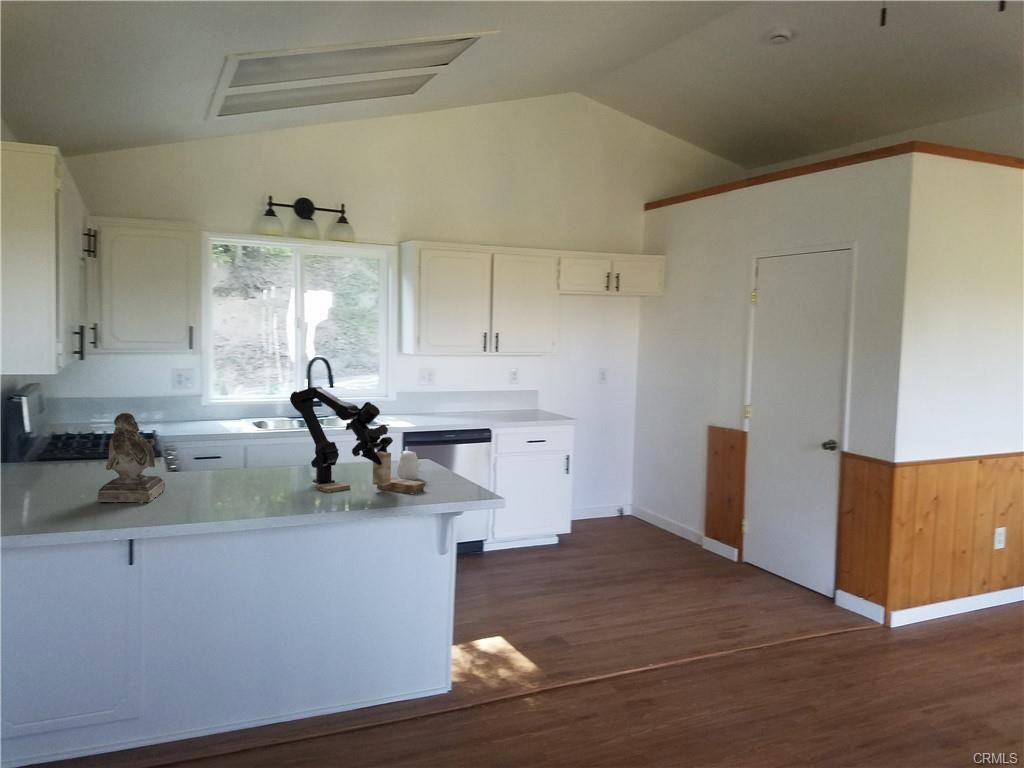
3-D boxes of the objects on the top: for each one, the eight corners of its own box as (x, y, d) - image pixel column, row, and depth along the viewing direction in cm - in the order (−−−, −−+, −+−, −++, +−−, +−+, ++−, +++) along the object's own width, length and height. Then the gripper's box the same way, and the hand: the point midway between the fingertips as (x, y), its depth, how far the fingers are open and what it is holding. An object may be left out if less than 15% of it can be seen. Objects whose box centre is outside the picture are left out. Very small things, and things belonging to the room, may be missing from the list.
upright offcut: (372, 484, 283) (373, 452, 282) (379, 482, 287) (380, 451, 286) (383, 485, 280) (383, 454, 279) (390, 483, 284) (391, 452, 283)
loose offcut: (317, 489, 284) (317, 485, 283) (340, 485, 291) (340, 481, 290) (326, 492, 279) (326, 488, 279) (349, 489, 286) (350, 484, 286)
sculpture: (149, 503, 255) (148, 416, 253) (96, 504, 252) (95, 416, 250) (165, 491, 273) (164, 410, 271) (116, 491, 271) (115, 409, 268)
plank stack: (376, 488, 288) (377, 480, 288) (388, 485, 295) (388, 477, 294) (413, 494, 280) (413, 485, 280) (424, 490, 287) (425, 482, 286)
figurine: (415, 483, 300) (416, 453, 299) (392, 481, 302) (393, 452, 301) (423, 478, 310) (423, 449, 309) (401, 476, 312) (401, 448, 311)
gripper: (358, 420, 275) (381, 453, 271) (389, 416, 292) (412, 447, 287) (341, 439, 280) (364, 472, 275) (373, 433, 296) (395, 464, 292)
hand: (384, 463), depth 282 cm, fingers closed on upright offcut, 4 cm apart
